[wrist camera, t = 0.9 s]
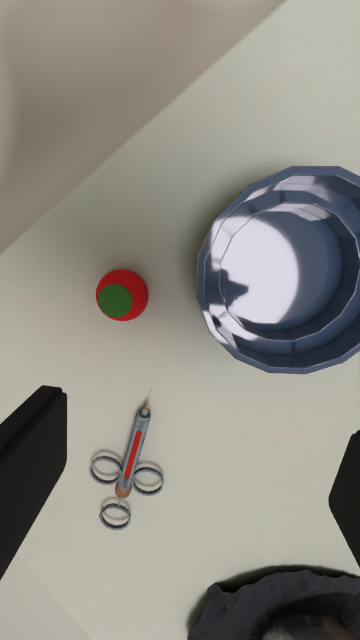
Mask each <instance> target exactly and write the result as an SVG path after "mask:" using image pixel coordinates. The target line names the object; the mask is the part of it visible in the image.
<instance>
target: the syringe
mask: <svg viewBox="0 0 360 640" xmlns="http://www.w3.org/2000/svg"><path fill="white" fill-rule="evenodd" d="M151 390H152V388H151ZM150 393H151V391H150ZM149 397H150V395H149ZM148 400H149V398H148ZM150 418H151V414H150V413H149V412H148V402H147V404H146V405H145V407H144V408H143V410H140V411H138V413H137V417H136V420H135V424H134V427H133V431H132V434H131V438H130V442H129V445H128V449H127V453H126V456H125V460H124V464H123V467H121V464H120V462H118V461H117V460H116V459H115V458H112V457H109V456H100V457H97V458H96V459H95V460H93V462H92V464H91V466H90V468H89V472H90V475H91V477H92V478H93V479H94V480H95V481H96V482H98V483H100V484H103V485H112V484H114V483H116V487H115V494H116V495H117V496H118V497H120V499H119V502H118V504H115V503H112V504H107V505H106V506H105V507H103V509H102V511H101V513H100V515H99V517H100V521H101V522H102V524H103V525H104V526H106V527H107V528H109V529H112V530H121V529H124V528H126V527H127V526H128V525H129V524H130V517H131V515H130V512H129V510H128V509H127V508H126V507H125V506H122V505H120V502H121V498H126V497H127V496H129V494H130V492H131V489H132V487H133V488H134V490H135V491H136V492H138V493H139V494H142V495H146V496H152V495H155V494H157V493H159V492H160V491H161V490H162V489H163V482H164V479H163V476H162V474H161V473H160V472H159V471H158V470H156V469H154V468H150V467H142V468H139V469H138V470H136V471H135V469H136V466H137V463H138V459H139V456H140V452H141V449H142V445H143V442H144V439H145V435H146V432H147V428H148V425H149V421H150ZM101 460H104V461H109V462H112V463H114V464H115V465H116V466H117V467H118V469H119V471H120V475H119V476H118V477H117V478H116V479H113V480H103V479H100V478H99V477H98V476H96V474H95V473H94V472H93V468H92V466H93V464H94V463H96V462H97V461H101ZM140 472H151V473H153V474H156V475H157V476H158V477H159V478H160V480H161V483H162V485H161V486H160V487H159V488H158V489H156V490H153V491H145V490H142V489H140V488H139V487H137V485H136V484H135V482H134V477H135V475H137V474H138V473H140ZM110 508H115V509H119V510H121V511H123V512H124V513H126V514H127V517H128V521H127V522H126V523H124V524H122V525H113V524H110V523H108V522H107V521H106V520H105V519H104V517H103V514H102V513H103V512H104V511H105V510H106V509H110Z"/></svg>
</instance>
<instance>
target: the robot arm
mask: <svg viewBox="0 0 360 640" xmlns="http://www.w3.org/2000/svg"><path fill="white" fill-rule="evenodd" d="M66 461H67V394H66V393H63V392H62V389H61V388H60V387H53V386H45V385H43V386H41V387H40V388H38V389H37V390H36V391H35V392H34V393H33V394H32V395H31V396H30V397H29V398H28V399H27V400H26V401H25V402H24V403H22V404H21V405H20V406H19V407H18V408H17V409H16V410H15V411H14V412H13V413H12V414H11V415H10V416H9V417H8V418H6V419H5V420H4V421H3V422H2V423H1V424H0V580H1V578H2V577H3V575H4V573H5V571H6V570H7V568H8V566H9V564H10V563H11V561H12V559H13V557H14V556H15V554H16V552H17V551H18V549H19V547H20V545H21V544H22V542H23V540H24V538H25V537H26V535H27V533H28V531H29V530H30V528H31V526H32V524H33V523H34V521H35V519H36V518H37V516H38V514H39V512H40V511H41V509H42V507H43V505H44V504H45V502H46V500H47V498H48V497H49V495H50V493H51V491H52V490H53V488H54V486H55V484H56V483H57V481H58V479H59V477H60V476H61V474H62V472H63V470H64V468H65V465H66ZM329 507H330V510H331V512H332V514H333V516H334V518H335V520H336V522H337V524H338V526H339V528H340V530H341V532H342V534H343V536H344V538H345V540H346V542H347V544H348V546H349V548H350V550H351V551H352V553H353V555H354V557H355V559H356V561H357V563H358V565H359V567H360V430H358V431H357V432H356V434H353V435H352V436H351V438H350V440H349V443H348V446H347V448H346V451H345V454H344V457H343V459H342V462H341V465H340V467H339V470H338V473H337V476H336V478H335V481H334V484H333V486H332V489H331V492H330V495H329Z"/></svg>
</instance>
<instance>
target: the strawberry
mask: <svg viewBox="0 0 360 640" xmlns="http://www.w3.org/2000/svg"><path fill="white" fill-rule="evenodd" d="M96 300H97V304H98V306H99V308H100V309H101V311H102V312H103V313H104V314H105V315H106V316H108V317H109V318H111V319H114V320H117V321H128V320H131V319H134V318H136V317H137V316H139V315H140V314H141V313H142V312H143V311H144V309H145V307H146V305H147V302H148V289H147V286H146V284H145V282H144V281H143V279H142V278H141V277H140V276H139V275H137V274H136V273H134V272H132V271H129V270H123V269H122V270H114V271H111V272H109V273H108V274H106V275H105V276H104V277H103V278H102V279H101V280H100V282H99V284H98V286H97V289H96Z"/></svg>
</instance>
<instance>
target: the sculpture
mask: <svg viewBox="0 0 360 640" xmlns="http://www.w3.org/2000/svg"><path fill="white" fill-rule="evenodd" d="M187 636H188V638H187V639H188V640H360V578H355V579H353V578H351V577H348V575H347V576H346V575H343V576H341V577H339V578H332V577H328V576H326V575H323V576H319V575H317V574H316V573H315V574H313V573H312V572H311V570H308V569H306V570H302V571H299V572H293V573H291V572H290V571H289V572H285V573H283V574H282V573H274V574H272V575H268V576H265V577H264V578H263V577H262V578H261V580H259V581H258V582H257V583H254V584H252V585H244V586H242V587H241V588H240V589H239V590H238V591H237V592H235V593H228V592H223V591H222V590H221V588H220V587H219V585H218V584H213V586H211V588H209V589H208V603H207V606H206V607H204V611H203V612H202V615H201V619H200V621H199V622H198V623H197V624H196V625H195V626H194V627H193V629H192V630H191V631H190V632H189V633H188V635H187Z"/></svg>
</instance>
